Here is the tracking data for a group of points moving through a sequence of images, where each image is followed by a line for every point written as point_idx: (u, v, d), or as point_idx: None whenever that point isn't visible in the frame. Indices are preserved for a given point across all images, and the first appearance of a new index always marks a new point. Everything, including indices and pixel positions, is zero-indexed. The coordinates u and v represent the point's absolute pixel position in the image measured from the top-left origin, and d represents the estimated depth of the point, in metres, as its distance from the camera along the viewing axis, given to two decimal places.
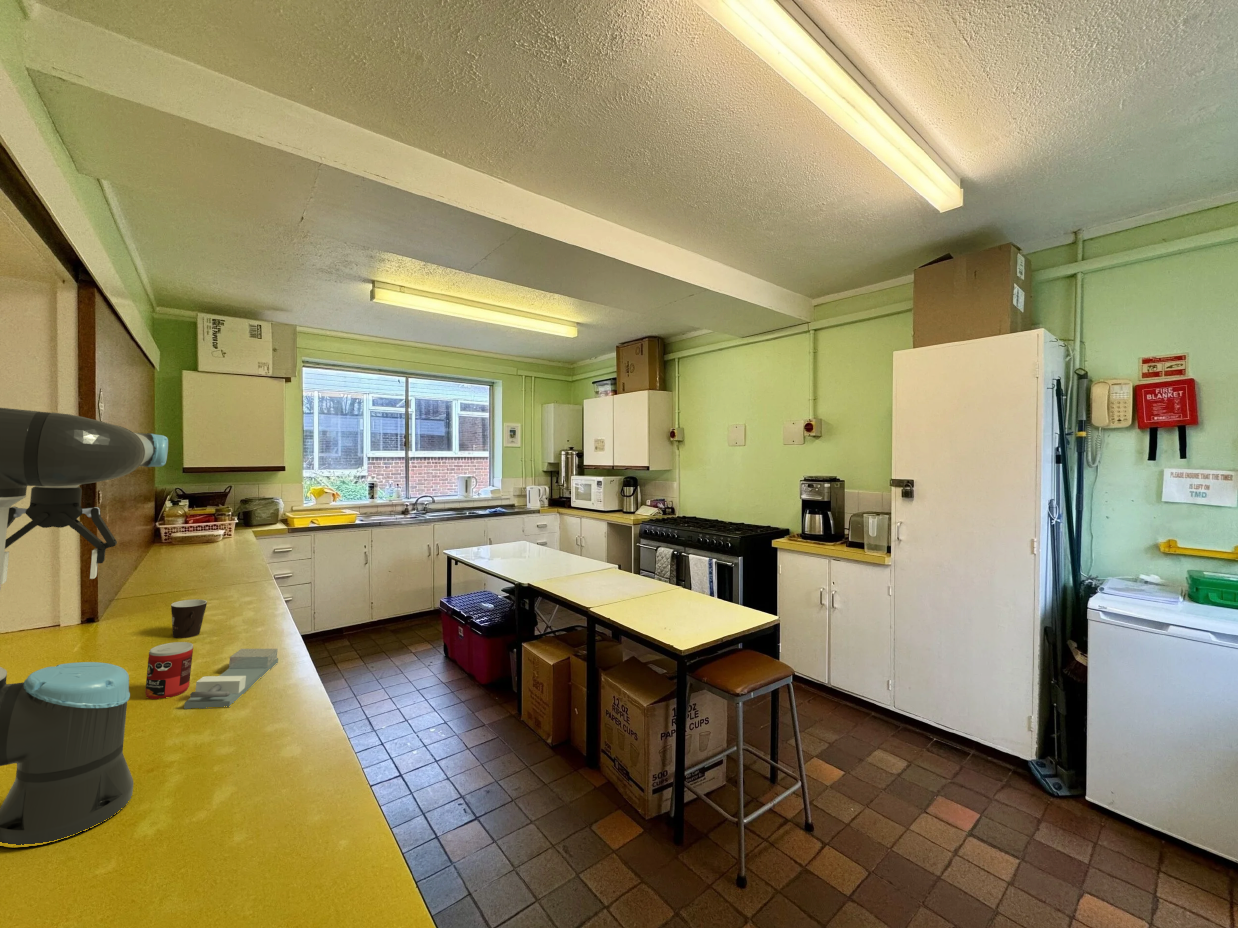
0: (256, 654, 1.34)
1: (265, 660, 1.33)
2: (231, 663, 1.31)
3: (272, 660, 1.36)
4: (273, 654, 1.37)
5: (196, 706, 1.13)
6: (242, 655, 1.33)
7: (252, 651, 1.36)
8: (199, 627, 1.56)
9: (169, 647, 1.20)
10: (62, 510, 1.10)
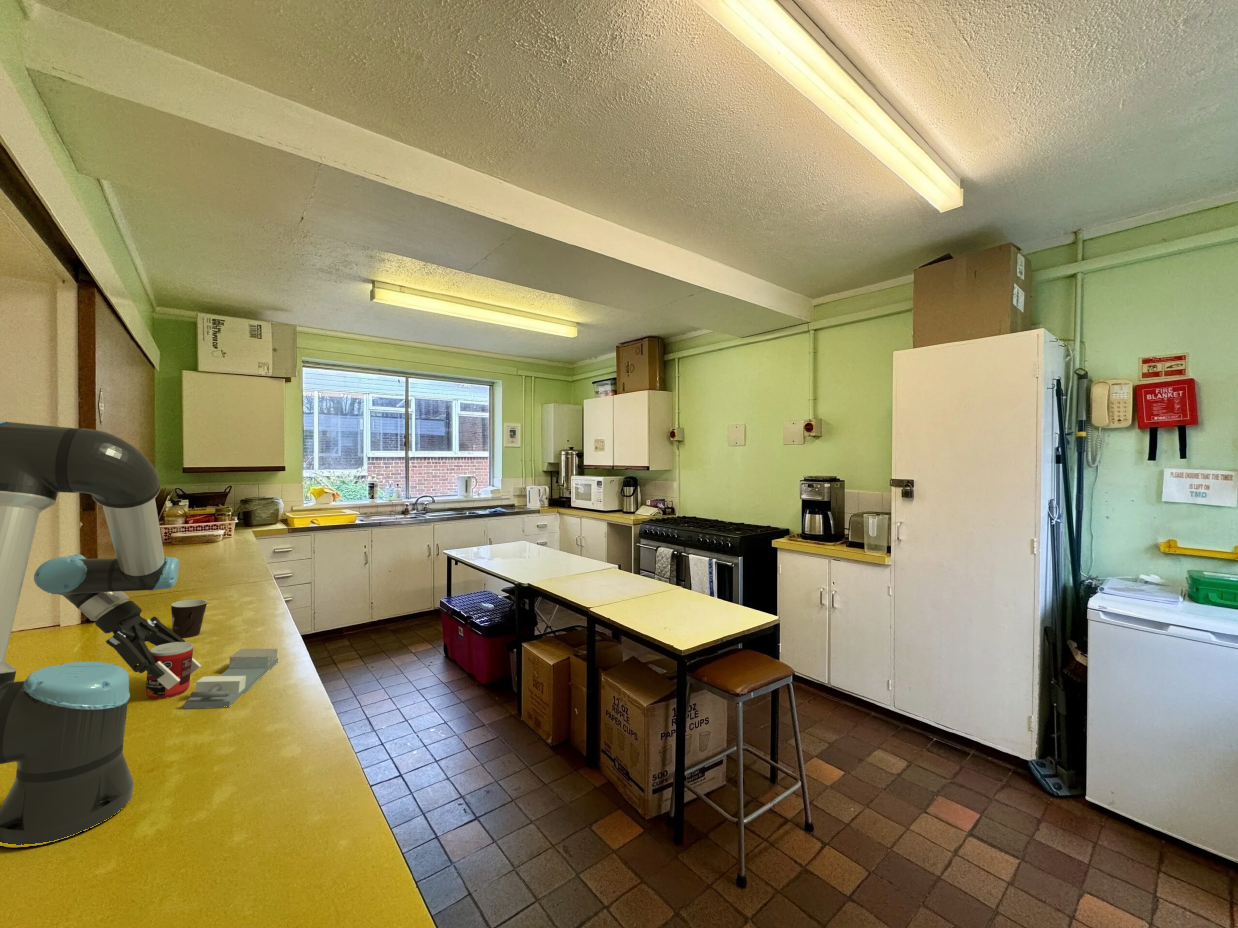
0: (256, 654, 1.34)
1: (265, 660, 1.33)
2: (231, 663, 1.31)
3: (272, 660, 1.36)
4: (273, 654, 1.37)
5: (196, 706, 1.13)
6: (242, 655, 1.33)
7: (252, 651, 1.36)
8: (199, 627, 1.56)
9: (169, 647, 1.20)
10: (139, 621, 1.19)
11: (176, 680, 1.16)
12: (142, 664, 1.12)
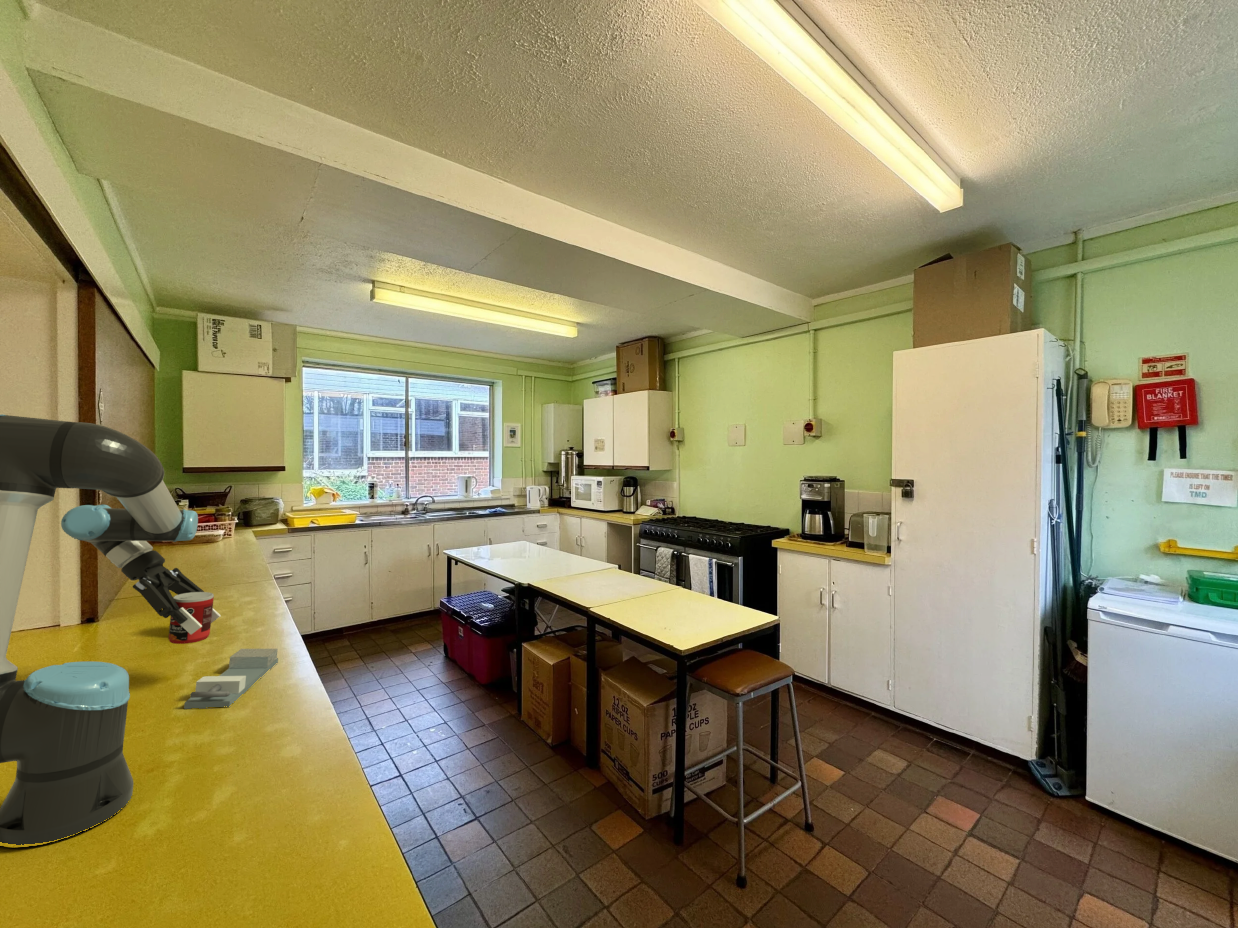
0: (256, 654, 1.34)
1: (265, 660, 1.33)
2: (231, 663, 1.31)
3: (272, 660, 1.36)
4: (273, 654, 1.37)
5: (196, 706, 1.13)
6: (242, 655, 1.33)
7: (252, 651, 1.36)
8: None
9: (191, 596, 1.25)
10: (162, 570, 1.24)
11: (198, 626, 1.21)
12: (167, 608, 1.17)
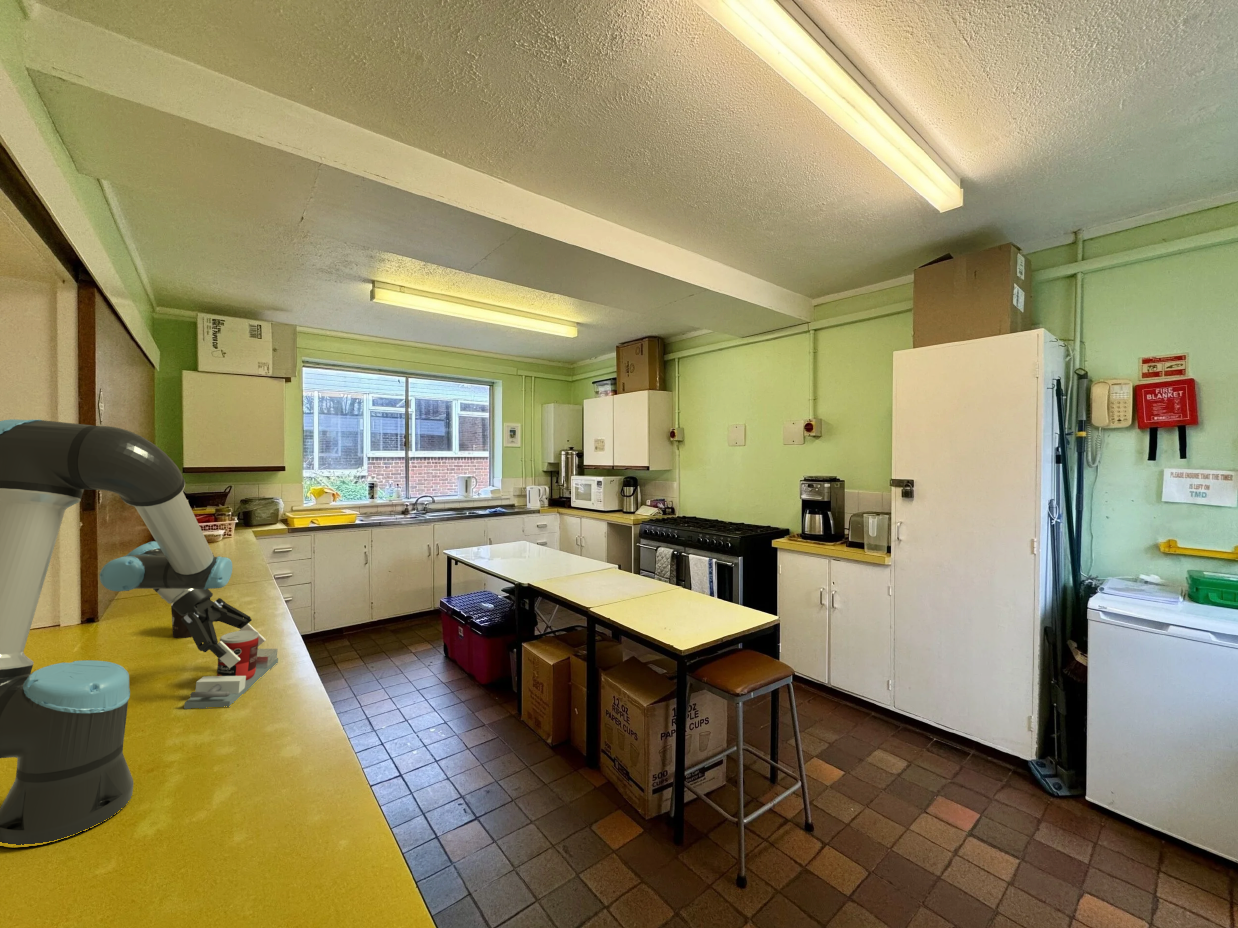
0: None
1: (265, 660, 1.33)
2: None
3: (272, 660, 1.36)
4: (273, 654, 1.37)
5: (196, 706, 1.13)
6: None
7: None
8: None
9: (237, 635, 1.27)
10: (209, 605, 1.26)
11: (237, 659, 1.20)
12: (206, 643, 1.16)
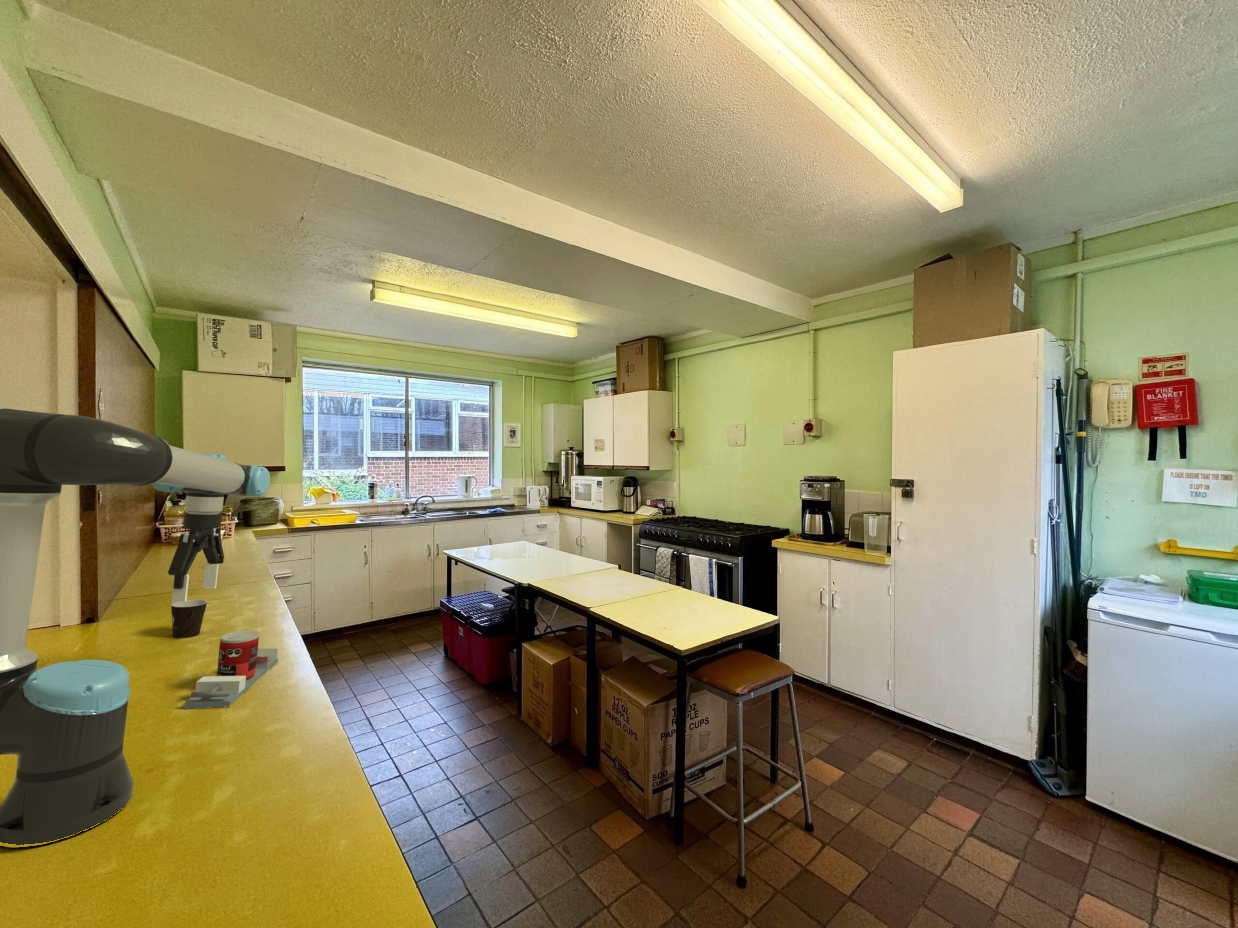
0: None
1: (265, 660, 1.33)
2: None
3: (272, 660, 1.36)
4: (273, 654, 1.37)
5: (196, 706, 1.13)
6: None
7: None
8: (199, 627, 1.56)
9: (237, 635, 1.27)
10: (209, 532, 1.28)
11: (184, 599, 1.20)
12: (178, 572, 1.17)
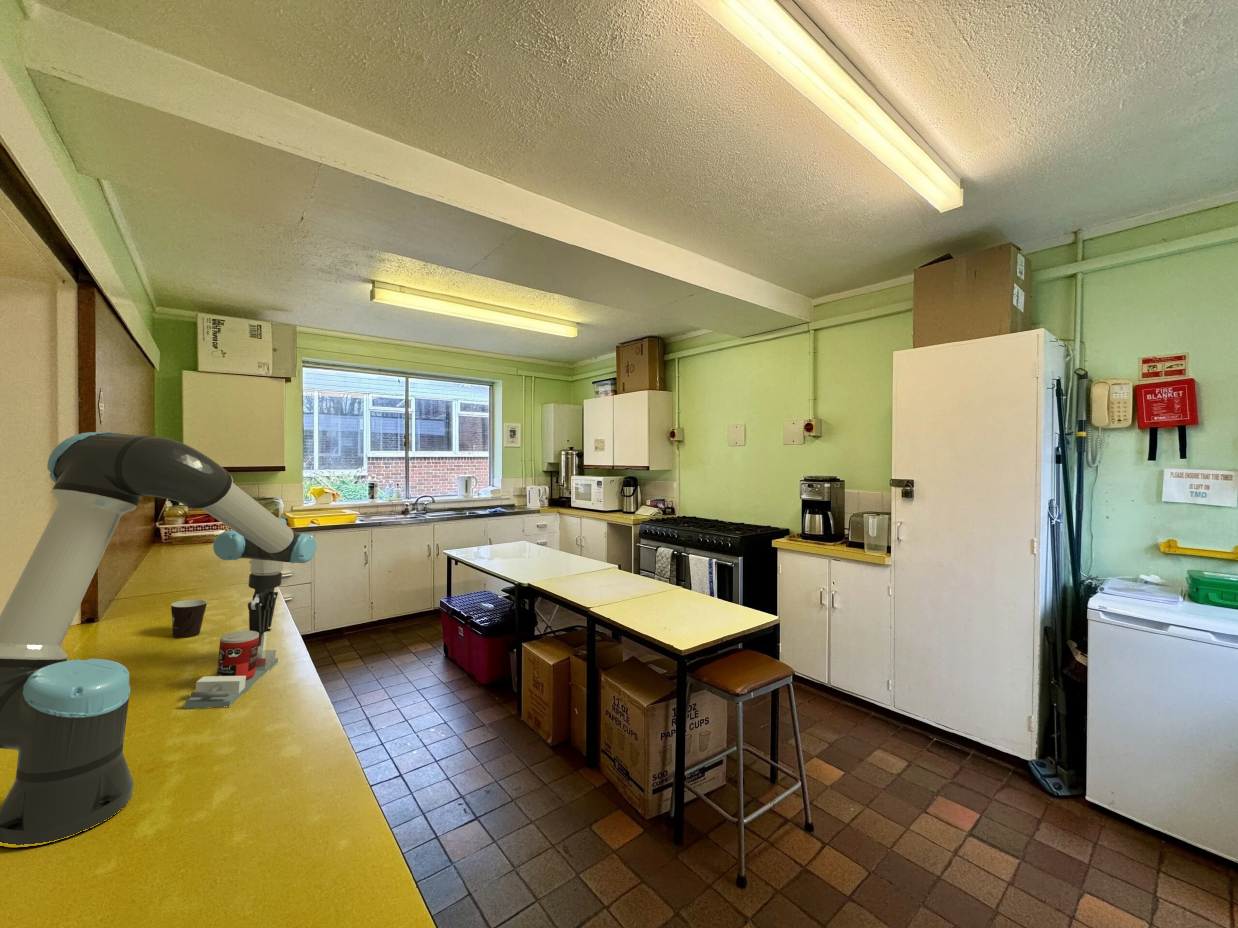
0: None
1: (262, 662, 1.32)
2: None
3: (270, 662, 1.35)
4: (271, 656, 1.35)
5: (196, 706, 1.13)
6: None
7: None
8: (199, 627, 1.56)
9: (237, 635, 1.27)
10: (271, 590, 1.40)
11: None
12: (258, 632, 1.34)
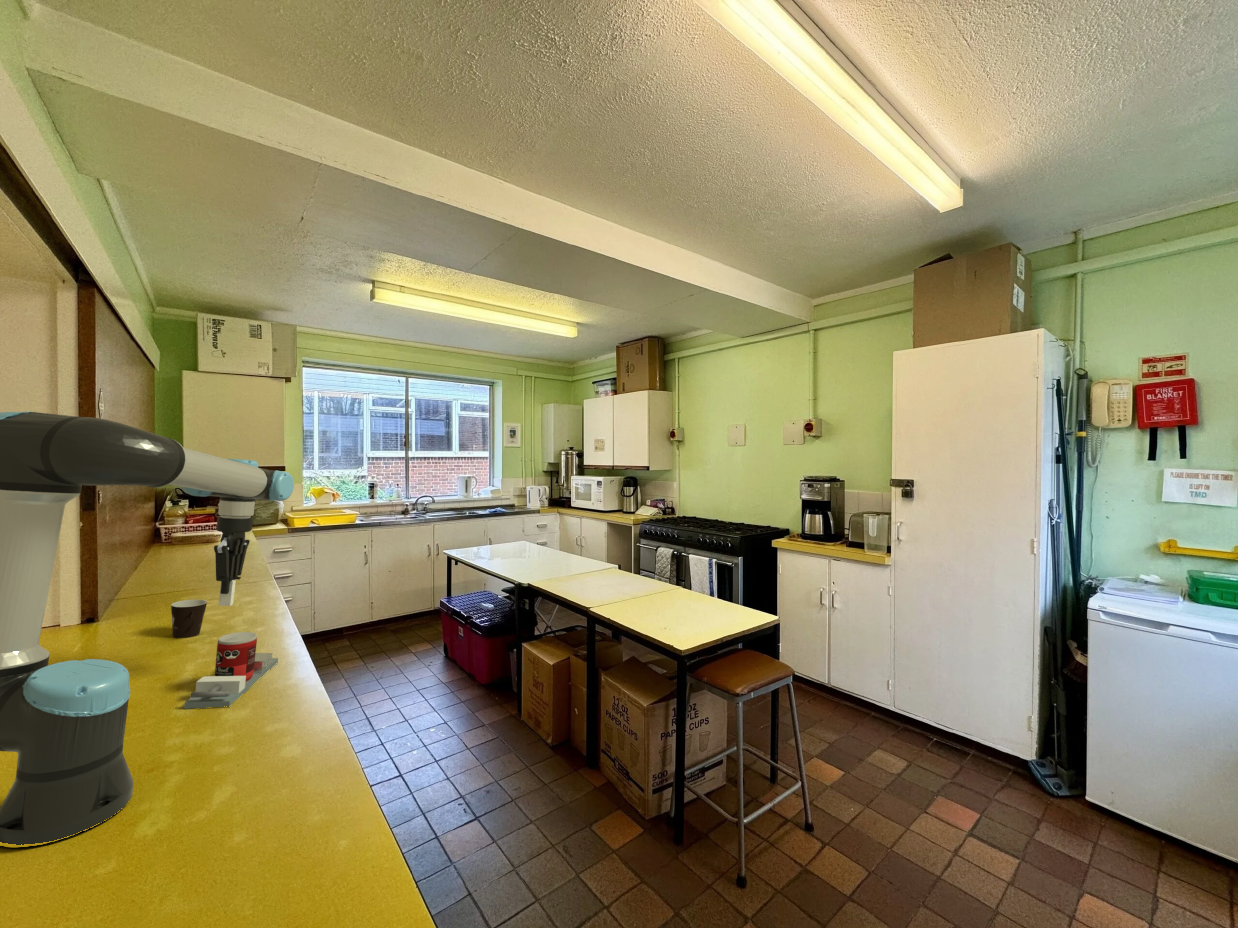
0: None
1: (259, 665, 1.30)
2: None
3: (267, 665, 1.33)
4: (268, 659, 1.33)
5: (196, 706, 1.13)
6: None
7: None
8: (199, 627, 1.56)
9: (235, 636, 1.26)
10: (241, 536, 1.33)
11: (229, 604, 1.30)
12: (225, 578, 1.27)
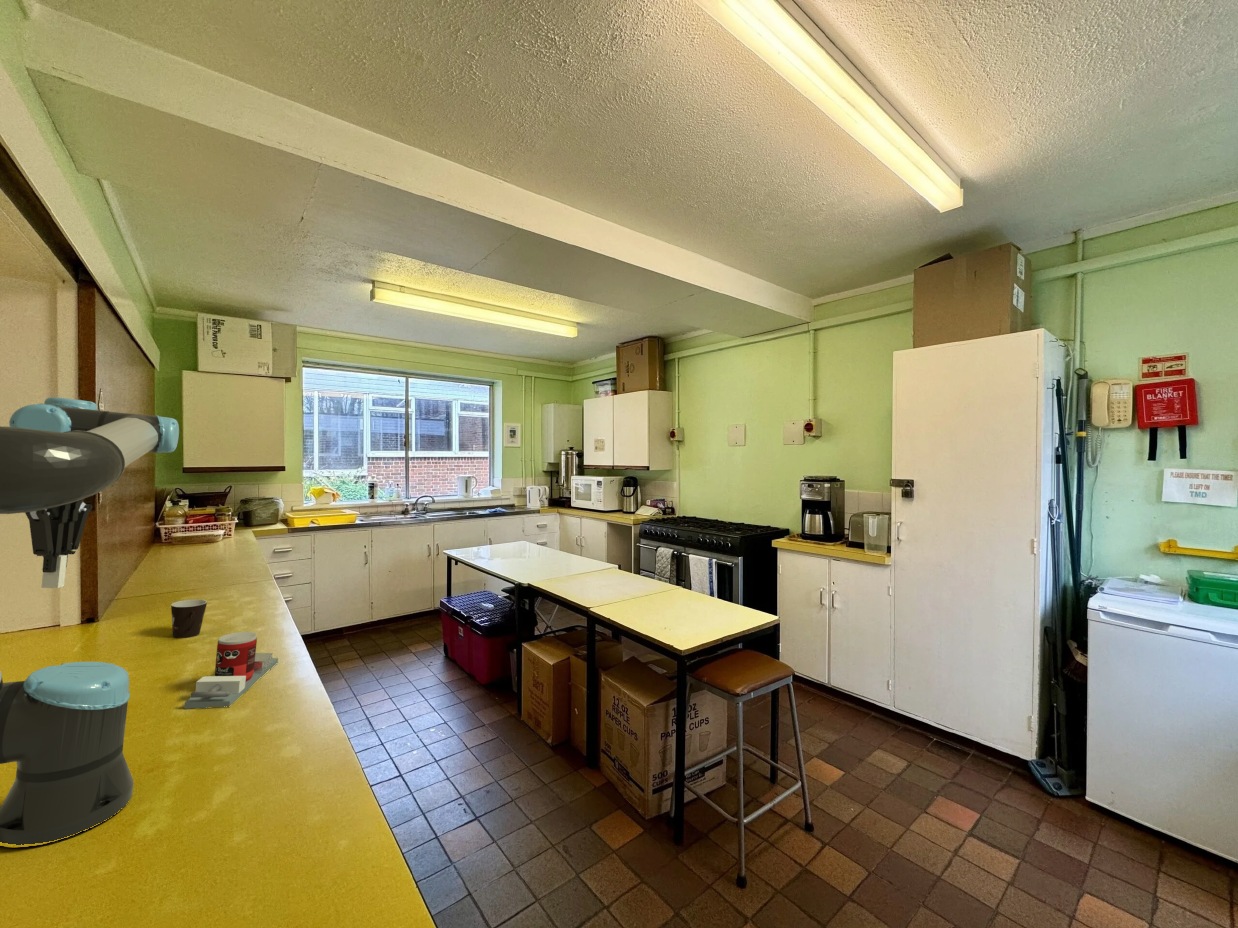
0: None
1: (259, 665, 1.30)
2: None
3: (267, 665, 1.33)
4: (268, 659, 1.33)
5: (196, 706, 1.13)
6: None
7: None
8: (199, 627, 1.56)
9: (235, 636, 1.26)
10: None
11: (57, 585, 1.00)
12: (46, 552, 0.98)
